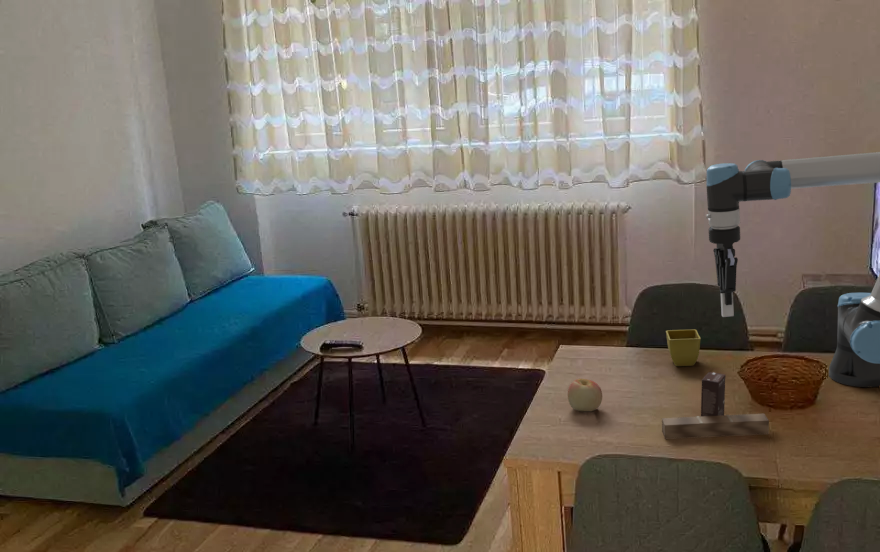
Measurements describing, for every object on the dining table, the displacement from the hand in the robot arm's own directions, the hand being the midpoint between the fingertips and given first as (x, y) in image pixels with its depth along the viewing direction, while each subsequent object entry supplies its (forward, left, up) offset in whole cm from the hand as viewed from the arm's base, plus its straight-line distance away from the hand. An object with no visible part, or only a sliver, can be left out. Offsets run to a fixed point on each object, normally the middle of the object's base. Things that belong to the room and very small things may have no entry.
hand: (727, 315), depth 222 cm
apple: (+38, +6, -22) cm, 44 cm away
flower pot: (+7, -24, -22) cm, 33 cm away
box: (+8, +17, -22) cm, 29 cm away
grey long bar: (+9, +23, -22) cm, 33 cm away
